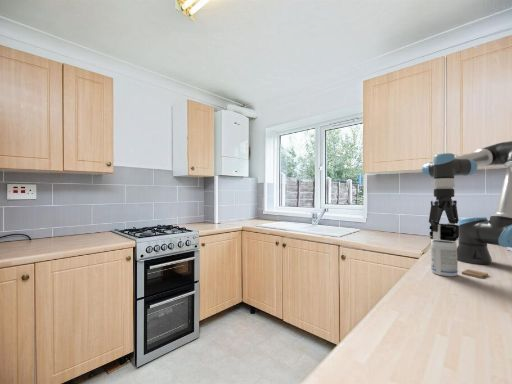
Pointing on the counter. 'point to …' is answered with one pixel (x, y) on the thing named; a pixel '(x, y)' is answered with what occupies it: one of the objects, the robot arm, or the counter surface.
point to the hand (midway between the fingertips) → (443, 238)
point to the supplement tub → (444, 257)
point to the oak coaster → (475, 273)
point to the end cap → (447, 232)
